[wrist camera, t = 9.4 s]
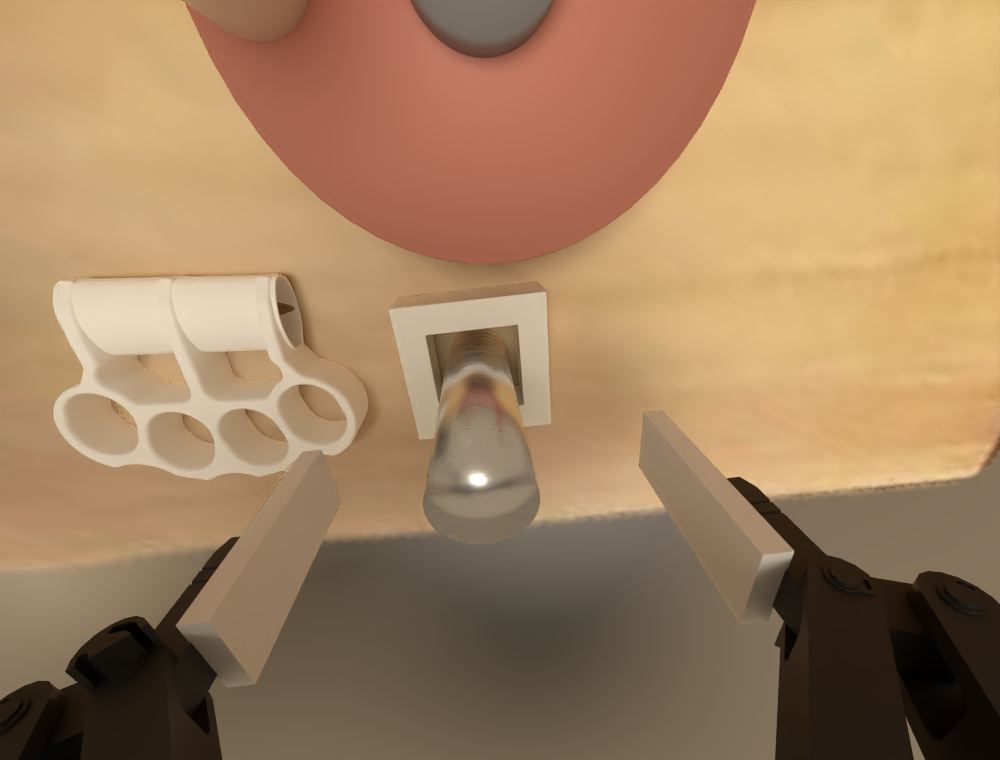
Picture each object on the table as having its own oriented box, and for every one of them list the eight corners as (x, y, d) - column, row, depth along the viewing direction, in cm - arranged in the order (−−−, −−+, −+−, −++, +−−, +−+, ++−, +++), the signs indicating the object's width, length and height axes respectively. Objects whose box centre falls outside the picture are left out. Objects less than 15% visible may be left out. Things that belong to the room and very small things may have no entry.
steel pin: (452, 383, 26) (434, 550, 13) (443, 330, 24) (412, 465, 11) (507, 376, 26) (542, 537, 13) (502, 323, 24) (537, 449, 11)
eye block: (424, 416, 27) (419, 440, 24) (398, 297, 23) (388, 309, 20) (543, 402, 27) (551, 424, 24) (537, 282, 23) (546, 291, 20)
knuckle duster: (345, 269, 22) (381, 457, 28) (34, 275, 21) (144, 470, 27) (325, 278, 19) (370, 486, 25) (-39, 286, 18) (103, 502, 24)
